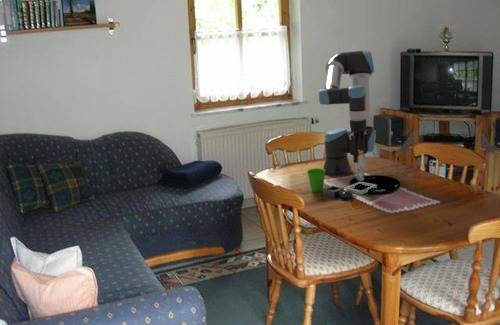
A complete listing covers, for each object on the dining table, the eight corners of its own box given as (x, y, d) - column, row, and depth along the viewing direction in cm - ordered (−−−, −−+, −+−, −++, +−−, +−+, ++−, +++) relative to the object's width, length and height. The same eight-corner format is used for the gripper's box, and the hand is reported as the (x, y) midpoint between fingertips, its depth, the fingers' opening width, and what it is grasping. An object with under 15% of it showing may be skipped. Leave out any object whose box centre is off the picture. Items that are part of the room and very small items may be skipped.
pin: (359, 177, 286) (358, 149, 283) (366, 179, 283) (365, 150, 280) (354, 179, 284) (353, 151, 280) (361, 181, 281) (360, 152, 277)
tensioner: (332, 192, 288) (332, 182, 286) (357, 197, 277) (357, 187, 275) (320, 197, 282) (319, 187, 281) (345, 203, 271) (344, 193, 270)
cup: (326, 195, 284) (324, 173, 281) (307, 195, 286) (305, 173, 283) (327, 189, 293) (326, 168, 290) (309, 189, 295) (307, 168, 292)
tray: (360, 186, 293) (359, 181, 292) (376, 189, 286) (376, 184, 285) (344, 192, 285) (344, 188, 285) (361, 196, 278) (361, 191, 277)
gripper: (362, 115, 284) (364, 162, 290) (340, 121, 274) (342, 170, 280) (375, 116, 279) (376, 164, 285) (353, 123, 268) (355, 173, 274)
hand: (359, 167), depth 282 cm, fingers closed on pin, 3 cm apart
